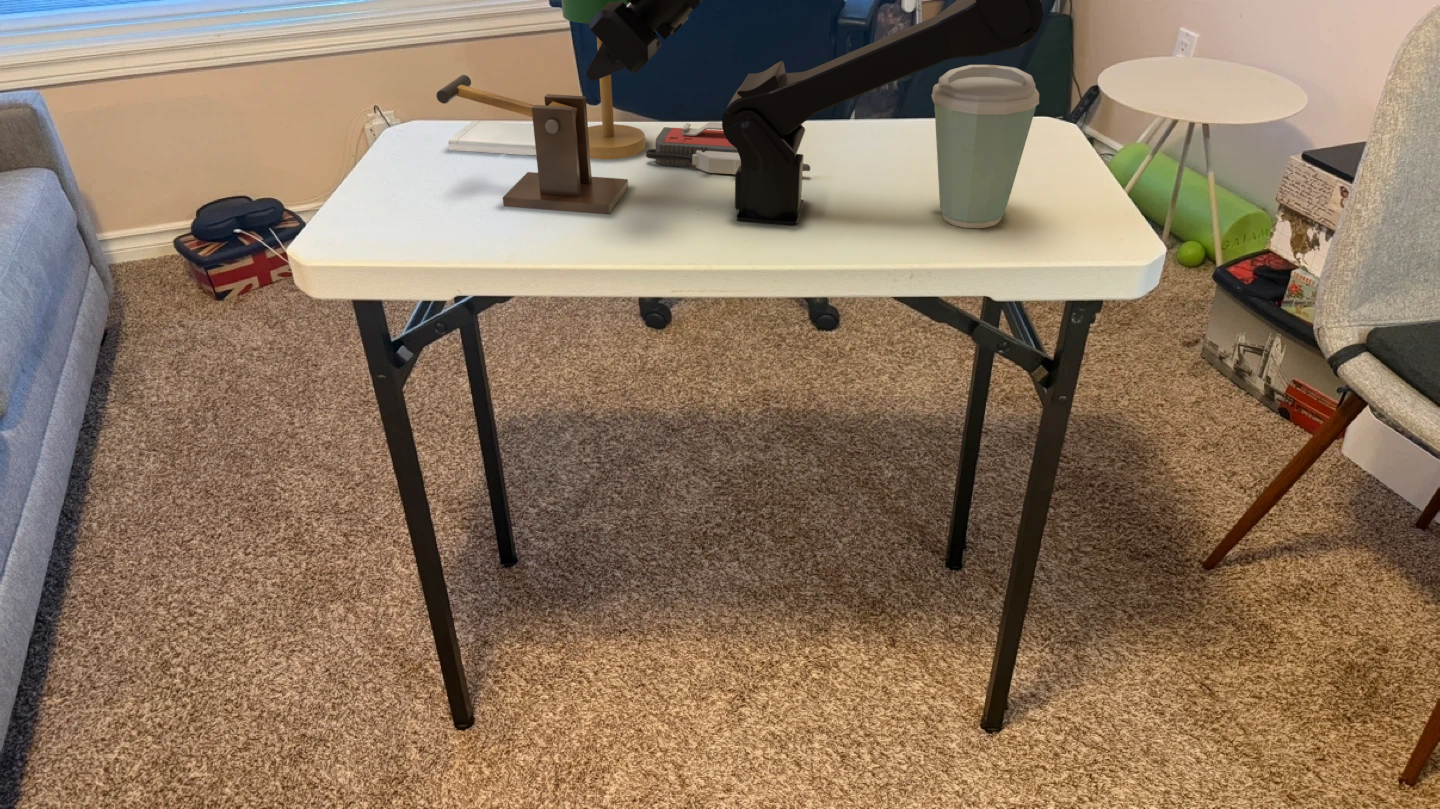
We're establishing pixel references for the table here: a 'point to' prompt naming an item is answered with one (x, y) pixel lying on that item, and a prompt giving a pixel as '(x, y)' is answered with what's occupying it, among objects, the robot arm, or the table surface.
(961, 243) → the table surface
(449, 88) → the switch lever
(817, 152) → the table surface
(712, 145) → the red boxy piece
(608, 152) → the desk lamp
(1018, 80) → the disposable coffee cup
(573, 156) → the switch bracket
